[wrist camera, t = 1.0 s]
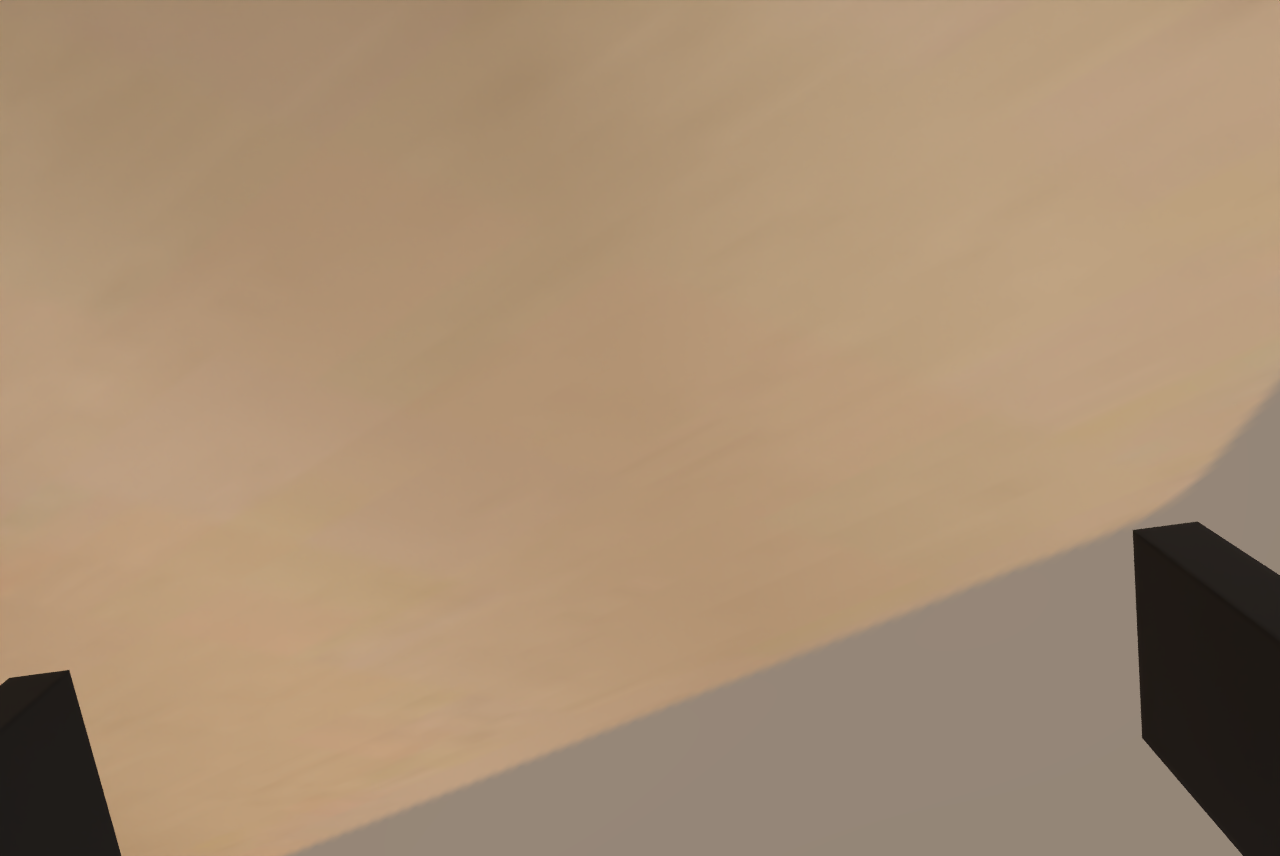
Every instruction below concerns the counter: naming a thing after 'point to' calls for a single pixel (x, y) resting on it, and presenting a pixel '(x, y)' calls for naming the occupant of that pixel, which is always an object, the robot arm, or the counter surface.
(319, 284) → the counter surface
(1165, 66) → the counter surface
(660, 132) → the counter surface
